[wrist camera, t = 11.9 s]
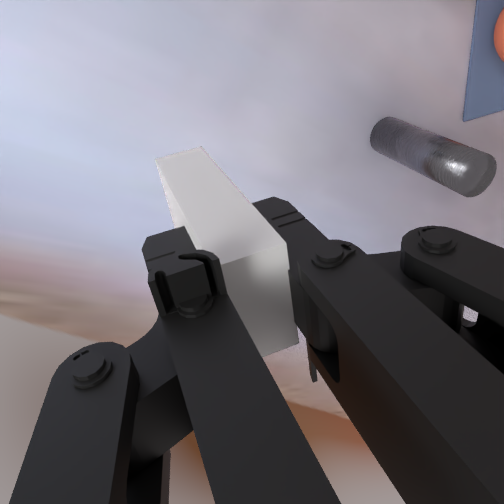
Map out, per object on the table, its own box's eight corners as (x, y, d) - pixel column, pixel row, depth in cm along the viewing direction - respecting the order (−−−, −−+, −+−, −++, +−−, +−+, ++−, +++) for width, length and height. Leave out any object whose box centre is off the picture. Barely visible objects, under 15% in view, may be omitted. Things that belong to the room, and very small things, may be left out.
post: (370, 156, 33) (456, 202, 26) (370, 122, 31) (461, 160, 24) (399, 147, 33) (492, 190, 26) (401, 113, 32) (499, 148, 25)
